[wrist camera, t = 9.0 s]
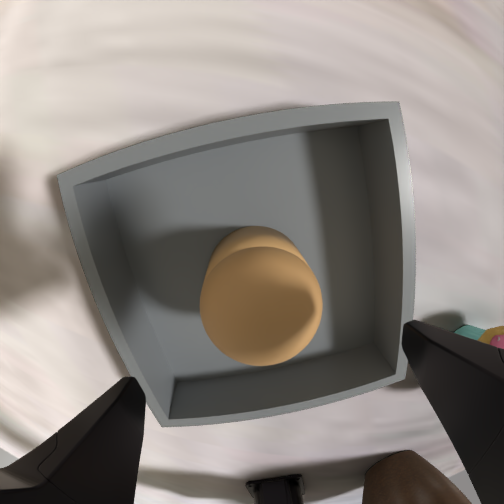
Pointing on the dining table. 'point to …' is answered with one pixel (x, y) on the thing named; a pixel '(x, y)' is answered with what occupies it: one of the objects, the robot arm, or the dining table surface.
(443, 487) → the plant pot
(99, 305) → the bin
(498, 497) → the robot arm
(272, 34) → the dining table surface
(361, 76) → the dining table surface
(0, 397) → the dining table surface
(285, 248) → the tan oval piece
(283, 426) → the dining table surface
